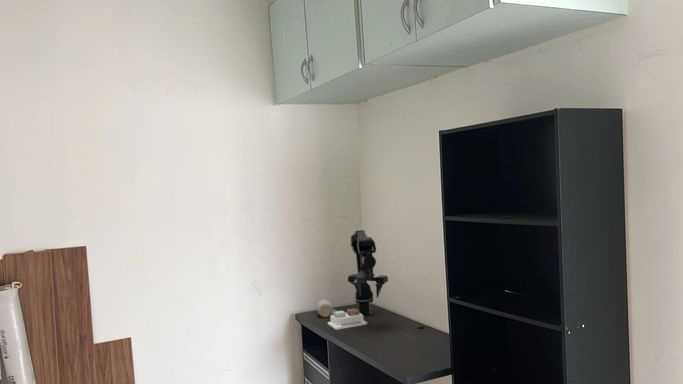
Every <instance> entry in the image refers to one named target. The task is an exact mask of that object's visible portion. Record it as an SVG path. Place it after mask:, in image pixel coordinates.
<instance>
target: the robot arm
mask: <svg viewBox="0 0 683 384" xmlns="http://www.w3.org/2000/svg"><path fill="white" fill-rule="evenodd" d="M349 243H350V247H351V249H352V252H353V253H354V254H355V259H356V260H355V262H356V270H357V272H356V273H352V274H350V275H348V276H347V282H348V283H350V284H351V285H353V286H354V288H355V293H354V302H355V303H356V304H358V305H357V306H358V307H357V308H358V310H359V313H361V314H363V317H364V316H369V315H373V312H371V307H370V303H373V302H374V293H373V290H371V289H372V288H371V285H370V284H369V283H368V282H375V287H376V289H375V290H376V292H375V293H376V298H377V299H378V298H379V296H380V293H381V290H382V288H383V286H384V285H385V284H386V283H388V282H389V277H388V275H384V274H383V275H382V274H381V275H377V276H375V273H374V268H375V266H376V264H377V260H376V257H374V256H373V254H376V252H377V246H376V242H375V240H374V239H373V238H372V237H371V236H368V235H367V234H366V231H365V230H364V229H363V230H355V231H354V233H353V234H352V235H351V236H350V242H349ZM356 304H355V305H356Z"/></svg>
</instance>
